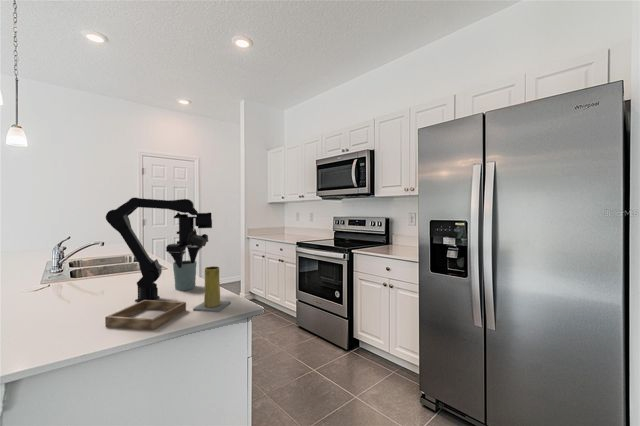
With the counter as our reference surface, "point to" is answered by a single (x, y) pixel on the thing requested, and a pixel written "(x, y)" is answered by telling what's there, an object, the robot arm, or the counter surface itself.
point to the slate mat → (213, 309)
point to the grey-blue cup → (185, 275)
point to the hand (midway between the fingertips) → (186, 265)
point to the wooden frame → (125, 321)
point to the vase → (212, 287)
